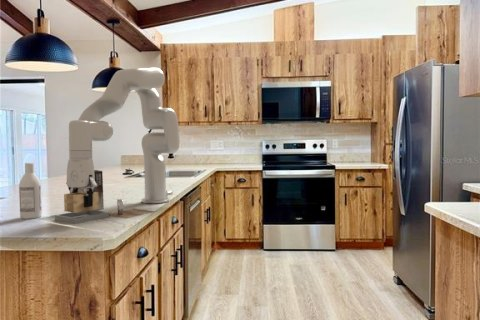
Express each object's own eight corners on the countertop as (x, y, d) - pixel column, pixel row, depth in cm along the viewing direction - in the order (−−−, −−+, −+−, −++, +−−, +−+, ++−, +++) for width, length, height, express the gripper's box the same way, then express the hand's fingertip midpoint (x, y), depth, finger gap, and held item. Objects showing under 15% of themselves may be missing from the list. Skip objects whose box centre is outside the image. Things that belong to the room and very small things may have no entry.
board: (134, 210, 154) (134, 208, 154) (156, 212, 148) (156, 211, 148) (103, 216, 141) (103, 214, 141) (126, 219, 135) (126, 218, 135)
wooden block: (76, 212, 130) (75, 195, 130) (64, 211, 133) (64, 194, 133) (98, 208, 138) (98, 192, 138) (87, 207, 141) (86, 191, 141)
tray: (88, 214, 145) (88, 209, 145) (109, 217, 139) (108, 212, 139) (54, 221, 133) (54, 215, 133) (75, 225, 127) (75, 218, 127)
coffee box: (95, 208, 158) (94, 169, 157) (104, 210, 154) (103, 170, 153) (74, 211, 151) (73, 171, 150) (82, 213, 147) (81, 171, 146)
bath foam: (33, 214, 145) (31, 162, 144) (45, 216, 142) (44, 162, 141) (15, 218, 139) (14, 163, 138) (28, 219, 136) (27, 163, 135)
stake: (120, 215, 143) (120, 199, 143) (124, 216, 142) (124, 199, 142) (116, 216, 142) (116, 199, 141) (120, 216, 141) (119, 200, 140)
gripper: (56, 155, 136) (57, 205, 137) (87, 156, 127) (88, 209, 128) (74, 154, 143) (75, 202, 143) (106, 155, 134) (106, 206, 134)
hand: (81, 205), depth 136 cm, fingers closed on wooden block, 6 cm apart
